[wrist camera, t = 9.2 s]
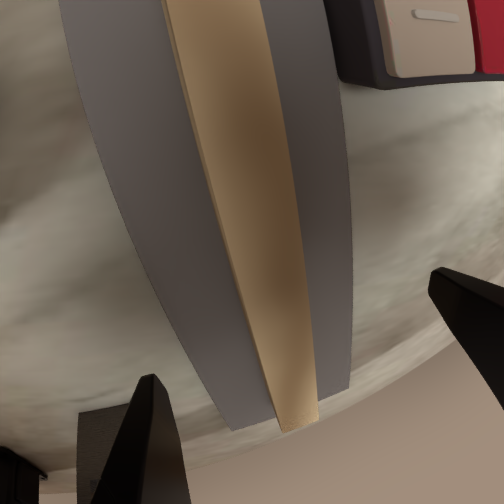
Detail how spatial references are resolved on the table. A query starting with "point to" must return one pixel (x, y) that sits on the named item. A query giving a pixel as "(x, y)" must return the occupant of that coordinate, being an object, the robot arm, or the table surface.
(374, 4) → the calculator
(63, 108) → the table surface
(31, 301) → the table surface
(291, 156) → the rubber mat
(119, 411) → the bracket
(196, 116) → the beech rail
